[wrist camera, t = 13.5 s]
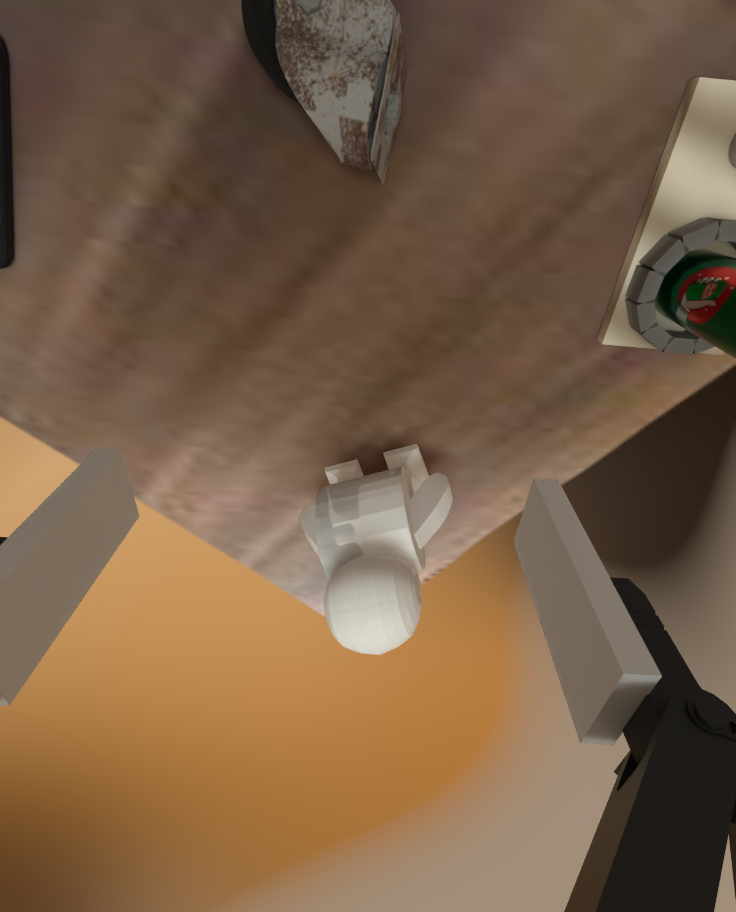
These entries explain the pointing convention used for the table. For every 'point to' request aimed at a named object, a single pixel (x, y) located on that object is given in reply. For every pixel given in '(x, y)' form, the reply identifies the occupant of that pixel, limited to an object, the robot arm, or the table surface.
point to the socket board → (679, 219)
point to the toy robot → (375, 546)
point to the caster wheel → (336, 69)
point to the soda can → (702, 297)
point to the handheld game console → (5, 166)
